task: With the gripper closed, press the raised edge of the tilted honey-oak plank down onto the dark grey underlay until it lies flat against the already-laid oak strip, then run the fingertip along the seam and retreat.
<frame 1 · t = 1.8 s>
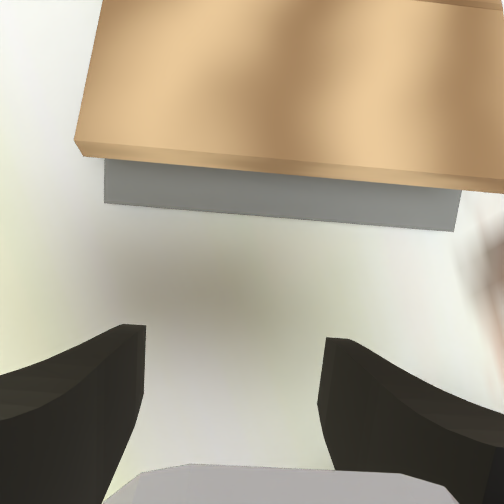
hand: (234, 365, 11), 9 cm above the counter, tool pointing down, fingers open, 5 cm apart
plank: (307, 70, 15), point 4 cm above the counter, hinge at 30.0°
underlay: (294, 81, 19), on the counter
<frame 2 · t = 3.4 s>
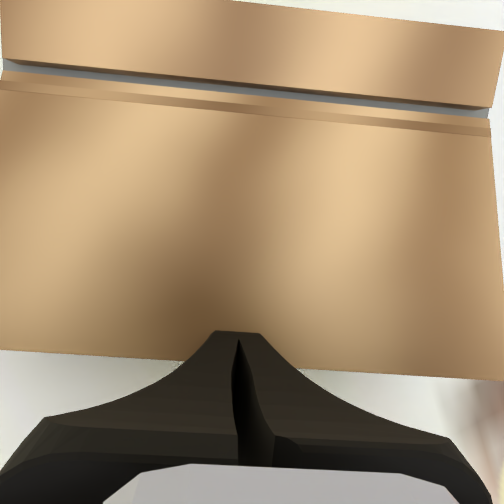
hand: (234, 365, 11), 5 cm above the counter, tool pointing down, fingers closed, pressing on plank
plank: (244, 224, 12), point 3 cm above the counter, hinge at 27.1°, touching gripper
underlay: (243, 200, 16), on the counter
locked strip: (257, 48, 13), on the underlay, point 1 cm above the counter
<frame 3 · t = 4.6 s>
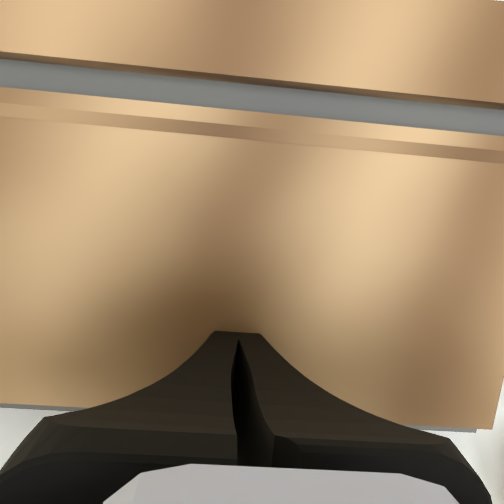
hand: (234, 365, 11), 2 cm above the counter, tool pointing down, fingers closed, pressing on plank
plank: (241, 270, 11), point 2 cm above the counter, hinge at 1.4°, touching gripper
underlay: (243, 223, 13), on the counter
locked strip: (261, 33, 10), on the underlay, point 1 cm above the counter
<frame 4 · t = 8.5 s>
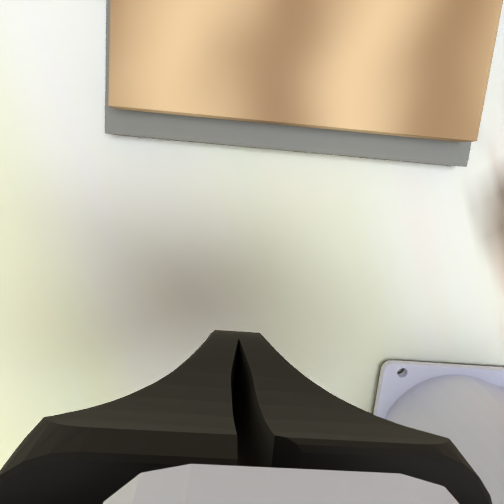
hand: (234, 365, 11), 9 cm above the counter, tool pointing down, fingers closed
plank: (306, 20, 17), point 2 cm above the counter, hinge at 1.4°
underlay: (302, 7, 18), on the counter
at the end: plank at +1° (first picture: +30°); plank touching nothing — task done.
